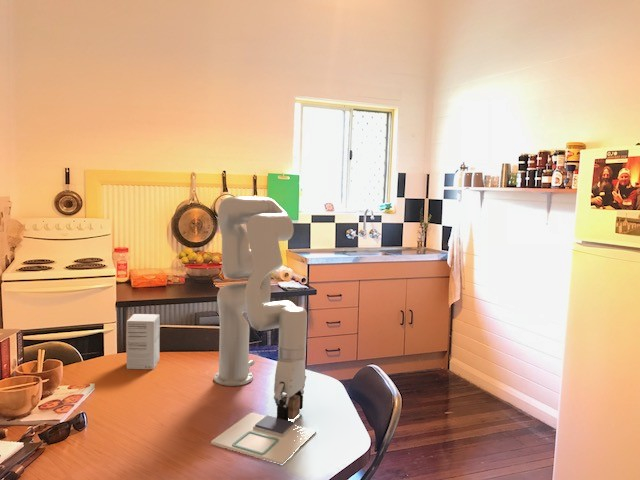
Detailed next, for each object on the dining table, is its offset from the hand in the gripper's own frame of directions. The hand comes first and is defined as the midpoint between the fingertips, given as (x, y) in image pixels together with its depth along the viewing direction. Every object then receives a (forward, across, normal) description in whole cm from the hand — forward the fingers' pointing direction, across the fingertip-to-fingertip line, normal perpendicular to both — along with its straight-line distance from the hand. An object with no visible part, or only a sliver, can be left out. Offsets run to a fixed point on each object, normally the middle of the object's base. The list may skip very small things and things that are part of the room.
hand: (289, 413), depth 139 cm
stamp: (+1, 0, 0) cm, 1 cm away
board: (+1, +13, 0) cm, 13 cm away
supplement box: (+1, -10, -63) cm, 64 cm away
